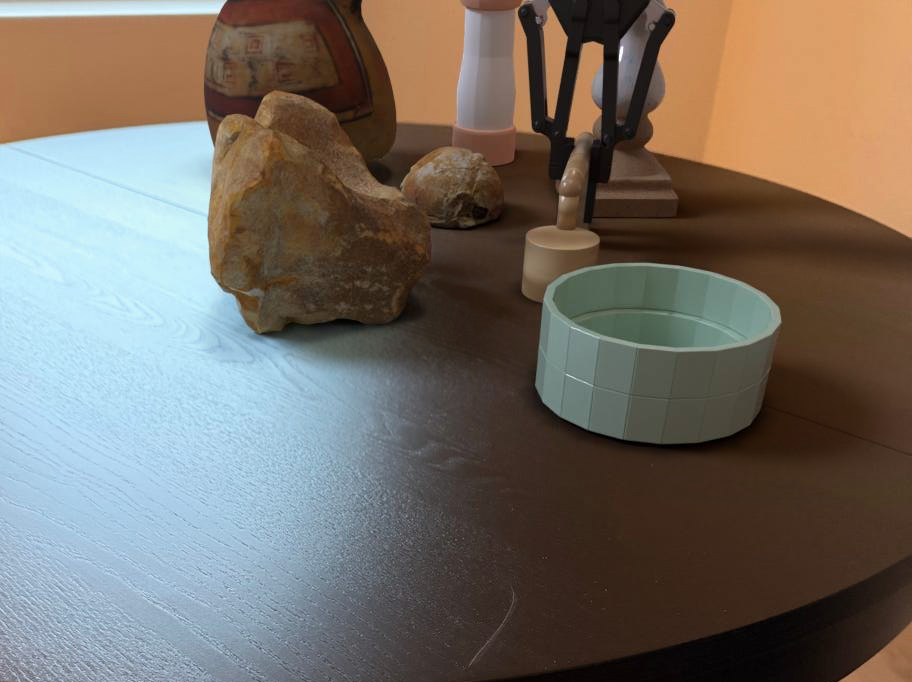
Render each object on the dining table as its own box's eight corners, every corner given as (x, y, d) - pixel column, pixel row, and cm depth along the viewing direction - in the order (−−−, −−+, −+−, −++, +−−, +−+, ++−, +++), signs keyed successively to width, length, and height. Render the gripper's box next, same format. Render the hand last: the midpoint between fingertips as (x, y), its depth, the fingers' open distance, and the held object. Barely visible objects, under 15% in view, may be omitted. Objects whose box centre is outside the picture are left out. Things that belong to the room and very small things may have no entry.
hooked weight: (589, 314, 84) (603, 200, 78) (516, 307, 85) (525, 193, 79) (607, 230, 101) (620, 131, 95) (546, 225, 101) (555, 126, 96)
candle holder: (653, 186, 113) (693, -79, 98) (677, 217, 104) (725, -68, 89) (553, 185, 112) (578, -82, 97) (570, 217, 104) (601, -71, 89)
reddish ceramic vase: (210, 151, 120) (176, -178, 101) (382, 148, 123) (380, -172, 104) (213, 202, 105) (174, -173, 86) (409, 196, 108) (413, -167, 89)
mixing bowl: (752, 368, 76) (774, 273, 72) (762, 467, 65) (789, 362, 60) (548, 347, 79) (557, 254, 74) (522, 440, 67) (531, 336, 62)
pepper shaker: (492, 147, 124) (503, -43, 112) (526, 162, 119) (541, -35, 107) (440, 153, 121) (445, -41, 109) (472, 169, 117) (481, -32, 105)
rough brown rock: (412, 385, 75) (436, 164, 66) (184, 355, 74) (176, 129, 65) (432, 280, 93) (452, 97, 84) (249, 256, 93) (250, 70, 84)
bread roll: (427, 268, 101) (450, 200, 95) (374, 197, 104) (393, 126, 98) (504, 250, 106) (532, 184, 99) (452, 183, 109) (475, 114, 102)
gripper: (704, -93, 83) (656, 212, 98) (520, -100, 85) (501, 199, 100) (704, -85, 77) (654, 237, 92) (507, -94, 79) (489, 223, 94)
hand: (575, 217), depth 96 cm, fingers closed on hooked weight, 2 cm apart
